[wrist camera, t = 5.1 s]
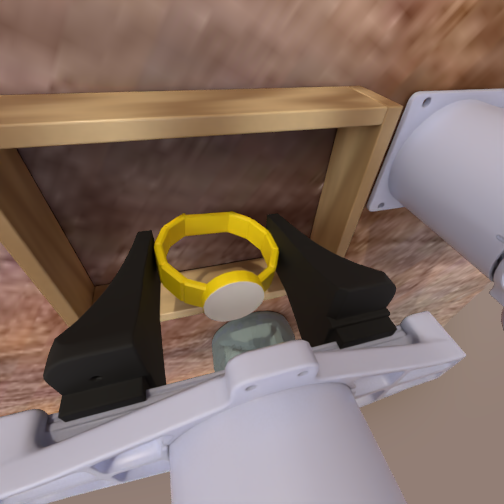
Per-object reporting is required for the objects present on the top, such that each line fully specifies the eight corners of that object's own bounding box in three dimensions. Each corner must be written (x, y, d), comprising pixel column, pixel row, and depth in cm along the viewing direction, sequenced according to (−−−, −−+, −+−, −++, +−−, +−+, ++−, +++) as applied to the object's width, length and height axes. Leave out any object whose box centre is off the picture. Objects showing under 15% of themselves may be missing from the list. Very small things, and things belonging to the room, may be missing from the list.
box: (361, 85, 14) (404, 105, 12) (313, 254, 23) (333, 286, 21) (-39, 95, 10) (-93, 129, 8) (86, 295, 19) (78, 339, 17)
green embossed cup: (304, 329, 32) (358, 447, 24) (232, 366, 34) (260, 488, 26) (269, 292, 25) (329, 443, 17) (180, 342, 27) (197, 500, 19)
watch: (155, 242, 16) (159, 333, 12) (151, 200, 14) (154, 291, 10) (254, 236, 18) (287, 313, 13) (262, 199, 16) (303, 275, 12)
